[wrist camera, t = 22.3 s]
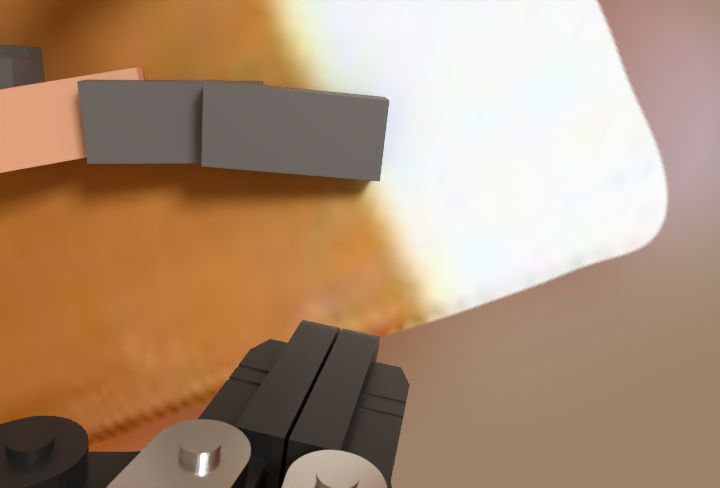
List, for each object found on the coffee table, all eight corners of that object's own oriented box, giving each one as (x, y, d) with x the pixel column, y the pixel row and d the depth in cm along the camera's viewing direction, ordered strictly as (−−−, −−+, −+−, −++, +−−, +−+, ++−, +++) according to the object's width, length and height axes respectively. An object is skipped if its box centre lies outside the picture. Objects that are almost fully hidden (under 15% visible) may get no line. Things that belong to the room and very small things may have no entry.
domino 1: (376, 174, 40) (206, 159, 39) (384, 97, 38) (208, 79, 37) (379, 181, 38) (201, 166, 37) (389, 100, 37) (203, 82, 35)
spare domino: (160, 140, 42) (-5, 169, 41) (140, 66, 40) (-33, 94, 39) (156, 144, 40) (-17, 175, 39) (135, 67, 39) (-46, 97, 37)
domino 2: (265, 157, 41) (96, 158, 40) (263, 81, 40) (87, 79, 38) (264, 162, 39) (87, 163, 38) (262, 83, 38) (77, 81, 36)
